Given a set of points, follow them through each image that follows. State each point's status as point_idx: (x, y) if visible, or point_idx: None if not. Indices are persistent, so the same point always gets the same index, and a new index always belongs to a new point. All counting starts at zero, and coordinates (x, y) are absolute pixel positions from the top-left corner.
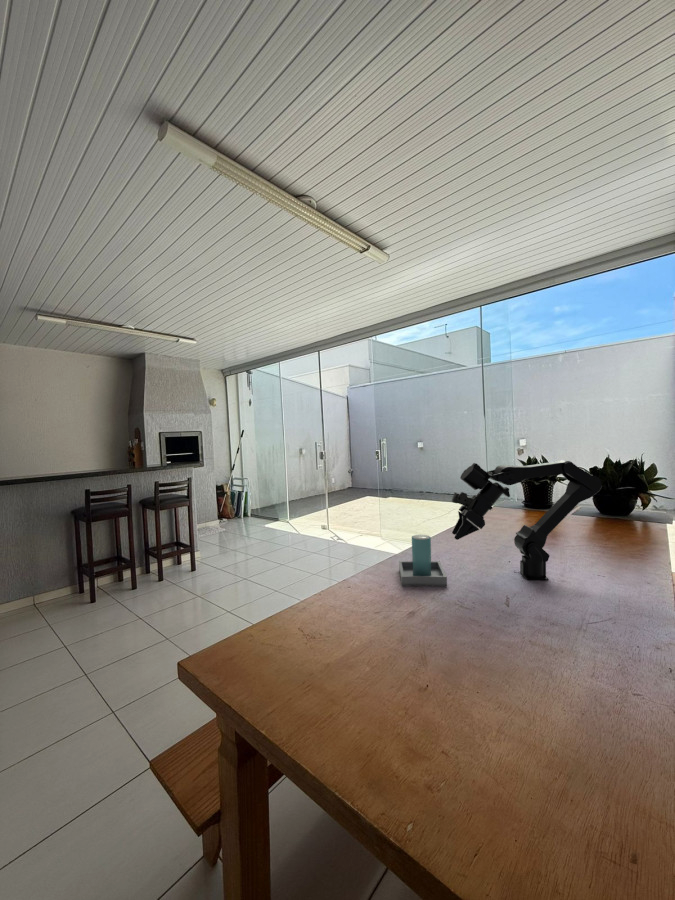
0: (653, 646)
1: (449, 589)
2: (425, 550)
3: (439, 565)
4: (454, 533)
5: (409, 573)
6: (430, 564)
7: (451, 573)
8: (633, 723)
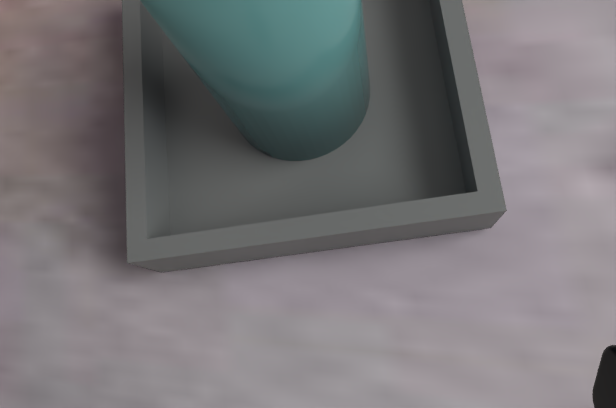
0: None
1: (130, 288)
2: None
3: (386, 208)
4: (604, 401)
5: None
6: (239, 115)
7: (440, 324)
8: None
